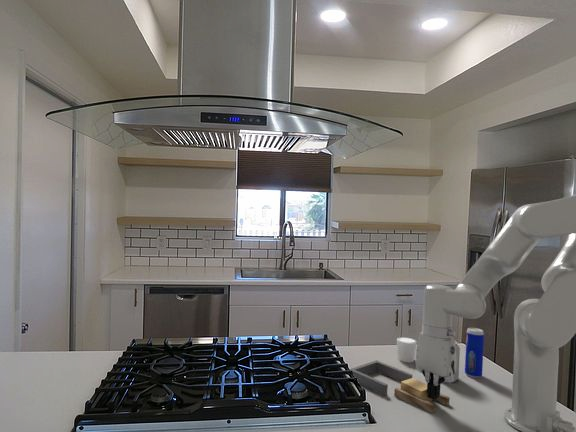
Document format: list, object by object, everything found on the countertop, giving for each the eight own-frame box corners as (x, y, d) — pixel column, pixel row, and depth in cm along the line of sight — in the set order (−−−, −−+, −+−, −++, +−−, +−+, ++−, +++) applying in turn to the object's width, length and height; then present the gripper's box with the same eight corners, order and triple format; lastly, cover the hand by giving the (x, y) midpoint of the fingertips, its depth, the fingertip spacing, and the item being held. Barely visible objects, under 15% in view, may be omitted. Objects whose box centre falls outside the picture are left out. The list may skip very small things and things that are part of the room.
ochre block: (432, 401, 112) (433, 387, 112) (420, 405, 109) (421, 391, 109) (412, 391, 117) (412, 377, 117) (400, 395, 114) (400, 381, 114)
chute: (449, 404, 110) (449, 397, 110) (432, 413, 104) (432, 405, 104) (411, 388, 119) (411, 381, 119) (394, 395, 114) (394, 388, 114)
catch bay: (412, 384, 122) (412, 374, 122) (384, 395, 113) (385, 385, 113) (376, 369, 132) (376, 360, 132) (348, 378, 124) (349, 369, 124)
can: (460, 384, 123) (462, 346, 123) (435, 381, 124) (437, 343, 124) (455, 374, 130) (457, 338, 130) (431, 372, 132) (433, 336, 132)
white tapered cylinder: (415, 357, 145) (415, 338, 145) (416, 364, 138) (417, 344, 138) (395, 354, 147) (396, 336, 147) (396, 361, 140) (397, 341, 140)
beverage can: (461, 372, 132) (463, 327, 132) (473, 371, 134) (475, 326, 134) (472, 379, 127) (475, 332, 127) (485, 377, 129) (487, 331, 129)
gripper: (470, 336, 105) (466, 404, 105) (420, 321, 117) (416, 383, 117) (455, 341, 100) (452, 413, 101) (404, 325, 112) (401, 390, 112)
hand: (433, 397), depth 109 cm, fingers closed
